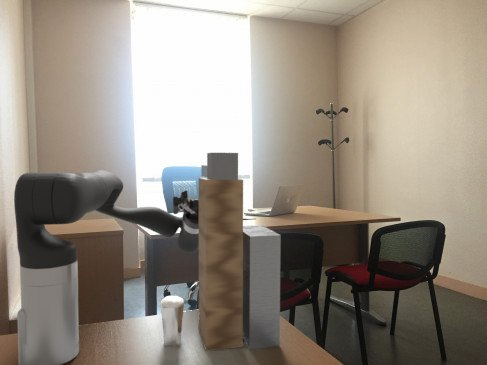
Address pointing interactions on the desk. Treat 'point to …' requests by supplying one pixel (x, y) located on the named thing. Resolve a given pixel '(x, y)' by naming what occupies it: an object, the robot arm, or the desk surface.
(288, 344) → the desk surface
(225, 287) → the walnut stand
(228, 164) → the block
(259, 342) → the tall grey pillar
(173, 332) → the milkshake
